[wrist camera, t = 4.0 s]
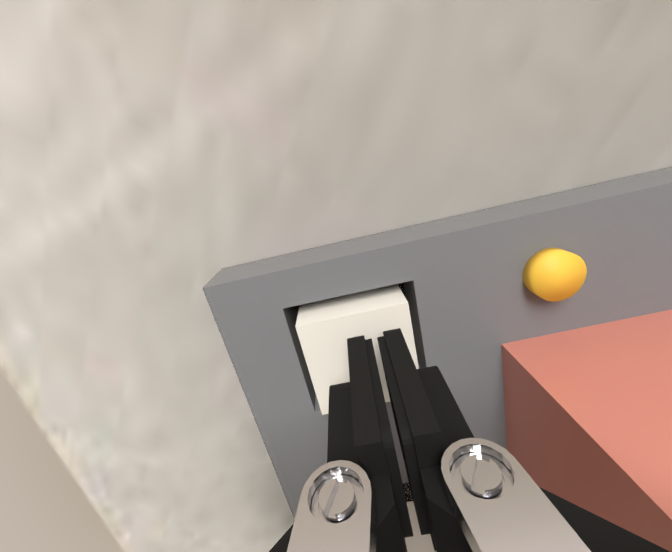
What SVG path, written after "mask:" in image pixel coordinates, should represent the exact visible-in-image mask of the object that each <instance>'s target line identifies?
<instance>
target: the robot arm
mask: <svg viewBox="0 0 672 552" xmlns="http://www.w3.org/2000/svg"><path fill="white" fill-rule="evenodd" d="M377 340H378V344H379V349H380V354H381V359H382V364H383V368H384V373H385V378H386V383H387V388H388V392H389V397H390V402H391V407H392V411H393V416H394V420H395V425H396V429H397V433H398V437H399V442H400V446H401V450H402V455H403V459H404V463H405V468H406V472H407V476H408V481H409V485H410V489H411V493H412V498H413V502H414V506H415V511H416V515H417V519H418V524H419V528H420V532H421V535H426V534H430V535H431V539H432V543H433V547H434V551H437V552H670V551H668V550H666V549H664V548H662V547H660V546H658V545H656V544H654V543H652V542H650V541H648V540H646V539H644V538H642V537H640V536H638V535H636V534H634V533H632V532H630V531H628V530H625V529H623V528H621V527H619V526H617V525H615V524H613V523H611V522H609V521H607V520H605V519H603V518H601V517H599V516H597V515H595V514H593V513H591V512H589V511H587V510H585V509H583V508H581V507H579V506H577V505H575V504H573V503H571V502H569V501H567V500H565V499H563V498H561V497H559V496H557V495H555V494H553V493H551V492H549V491H547V490H545V489H543V488H540V487H538V485H537V484H536V483H535V482H534V480H533V479H532V478H531V477H530V476H529V474H528V473H527V472H526V471H525V469H524V468H523V467H522V466H521V464H520V463H519V462H518V461H517V460H516V458H515V457H514V456H513V455H512V454H511V453H509V452H508V451H507V450H506V449H505V448H503V447H502V446H500V445H498V444H496V443H495V442H492V441H489V440H485V439H481V438H474V436H473V434H472V432H471V430H470V428H469V426H468V424H467V422H466V420H465V418H464V416H463V415H462V413H461V411H460V409H459V407H458V405H457V403H456V401H455V399H454V397H453V395H452V393H451V391H450V389H449V387H448V385H447V383H446V381H445V379H444V377H443V375H442V373H441V371H440V370H439V368H438V367H437V366H431V367H426V368H420V369H416V366H415V364H414V361H413V359H412V356H411V354H410V351H409V349H408V346H407V344H406V341H405V339H404V336H403V334H402V331H401V329H400V328H398V329H393V330H388V331H383V336H381V337H377ZM347 347H348V362H349V377H350V382H346V383H341V384H336V385H330V387H329V410H328V446H327V464H324V465H322V466H320V467H319V468H318V469H317V470H316V471H314V472H313V473H312V474H311V476H310V477H309V478H308V480H307V481H306V482H305V485H304V487H303V490H302V492H301V496H300V500H299V504H298V508H297V512H296V516H295V520H294V524H293V525H292V526H291V527H290V529H289V530H288V531H287V532H286V533H285V534H284V535H283V536H282V538H281V539H280V540H279V541H278V542H277V543H276V544H275V545H274V547H273V548H272V549H271V550H270V551H269V552H407V547H406V542H405V538H406V537H412V536H413V531H412V526H411V521H410V517H409V512H408V507H407V502H406V498H405V493H404V488H403V483H402V479H401V474H400V469H399V465H398V460H397V455H396V450H395V446H394V441H393V436H392V431H391V427H390V422H389V417H388V412H387V408H386V403H385V398H384V394H383V389H382V385H381V380H380V375H379V371H378V366H377V361H376V357H375V352H374V347H373V343H372V338H371V339H366V340H365V337H364V335H362V336H357V337H352V338H347Z"/></svg>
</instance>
